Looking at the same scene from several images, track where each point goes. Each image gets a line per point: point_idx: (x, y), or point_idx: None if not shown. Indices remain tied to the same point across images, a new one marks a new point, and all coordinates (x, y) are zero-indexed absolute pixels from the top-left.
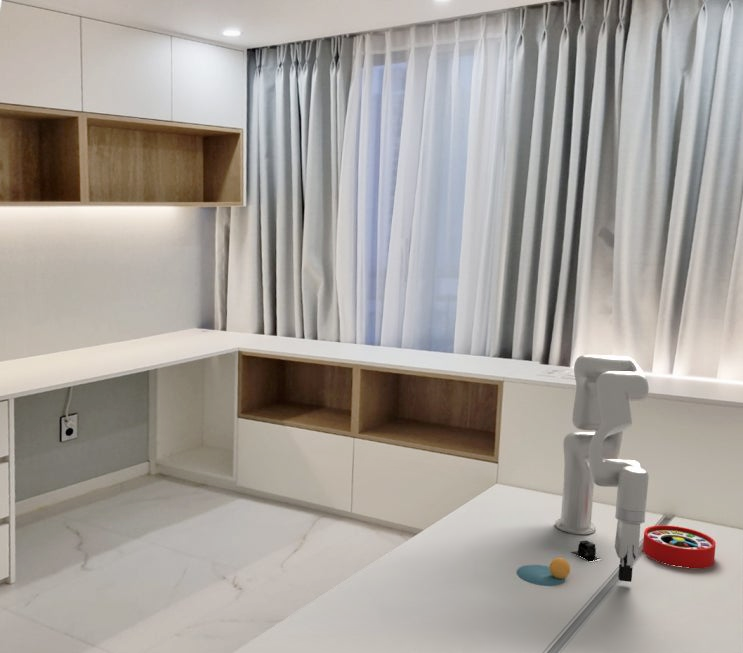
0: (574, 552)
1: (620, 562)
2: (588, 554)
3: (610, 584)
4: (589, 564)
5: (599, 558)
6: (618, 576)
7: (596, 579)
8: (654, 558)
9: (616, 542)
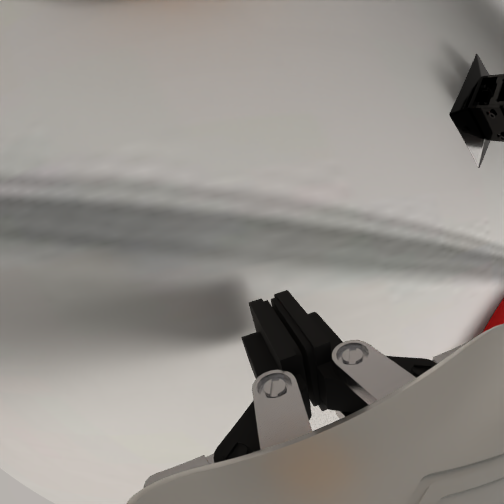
0: (480, 65)
1: (352, 344)
2: (481, 108)
3: (235, 238)
4: (431, 108)
5: (482, 156)
6: (284, 294)
7: (268, 145)
8: (492, 322)
9: (481, 474)
